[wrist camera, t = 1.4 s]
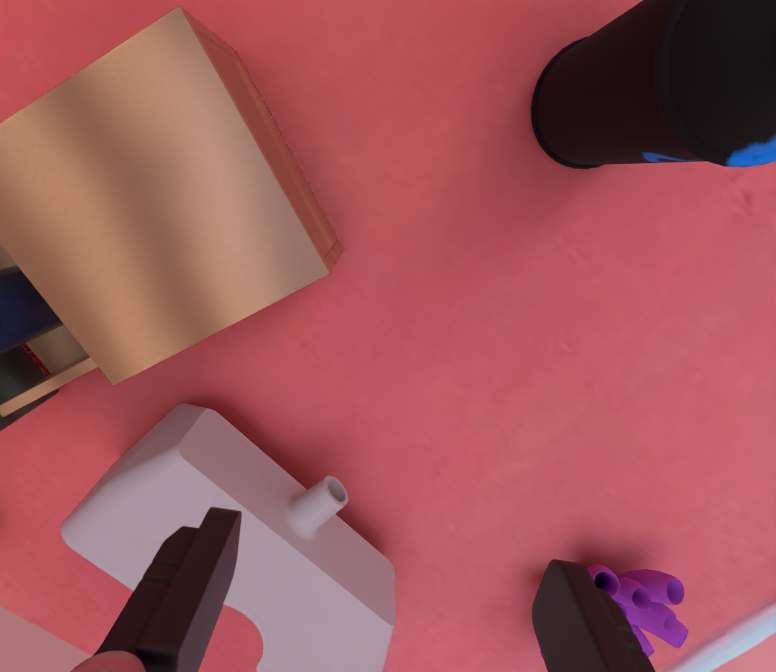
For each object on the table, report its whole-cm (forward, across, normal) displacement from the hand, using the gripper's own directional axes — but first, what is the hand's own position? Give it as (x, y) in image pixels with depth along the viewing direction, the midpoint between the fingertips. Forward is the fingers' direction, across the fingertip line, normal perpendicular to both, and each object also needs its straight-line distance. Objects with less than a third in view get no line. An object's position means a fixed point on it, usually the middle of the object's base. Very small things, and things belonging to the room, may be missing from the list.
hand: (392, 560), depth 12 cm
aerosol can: (+26, -11, -16) cm, 33 cm away
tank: (+26, +6, +20) cm, 34 cm away
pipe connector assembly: (+26, -26, +26) cm, 45 cm away
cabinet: (+26, +15, -4) cm, 30 cm away
